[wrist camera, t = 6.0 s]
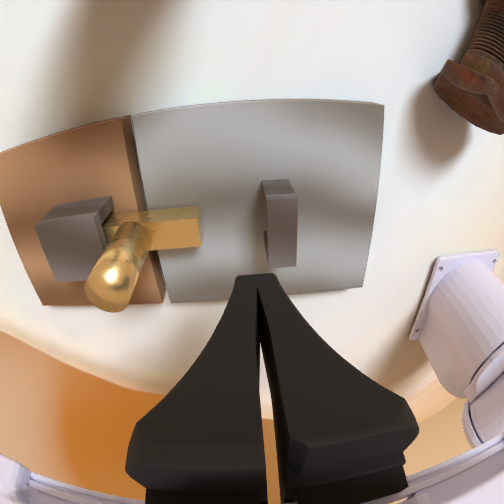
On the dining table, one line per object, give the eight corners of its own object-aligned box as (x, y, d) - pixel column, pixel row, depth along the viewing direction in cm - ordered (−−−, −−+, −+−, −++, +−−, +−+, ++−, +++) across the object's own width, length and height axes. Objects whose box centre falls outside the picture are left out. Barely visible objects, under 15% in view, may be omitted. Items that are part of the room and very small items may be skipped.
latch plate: (355, 274, 21) (375, 313, 18) (50, 293, 21) (29, 329, 17) (372, 102, 15) (409, 112, 11) (0, 152, 14) (-38, 174, 11)
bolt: (492, -19, 10) (441, 107, 16) (474, -61, 6) (417, 70, 13) (553, 5, 6) (511, 148, 13) (544, -40, 3) (508, 113, 9)
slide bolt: (204, 234, 17) (193, 309, 12) (67, 247, 17) (23, 311, 12) (199, 201, 16) (184, 268, 11) (57, 219, 16) (5, 279, 11)
